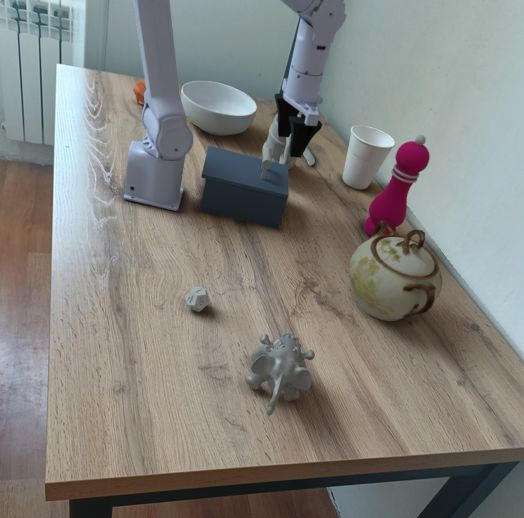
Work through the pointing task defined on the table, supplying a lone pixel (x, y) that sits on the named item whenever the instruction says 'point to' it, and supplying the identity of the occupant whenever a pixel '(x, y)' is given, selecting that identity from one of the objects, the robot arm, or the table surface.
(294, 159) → the mug
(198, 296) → the game die
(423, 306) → the sugar bowl
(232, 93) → the cereal bowl
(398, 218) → the pepper mill
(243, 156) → the lid
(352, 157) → the cup
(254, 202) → the compartment
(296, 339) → the elephant statuette
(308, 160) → the knife
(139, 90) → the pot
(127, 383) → the table surface
